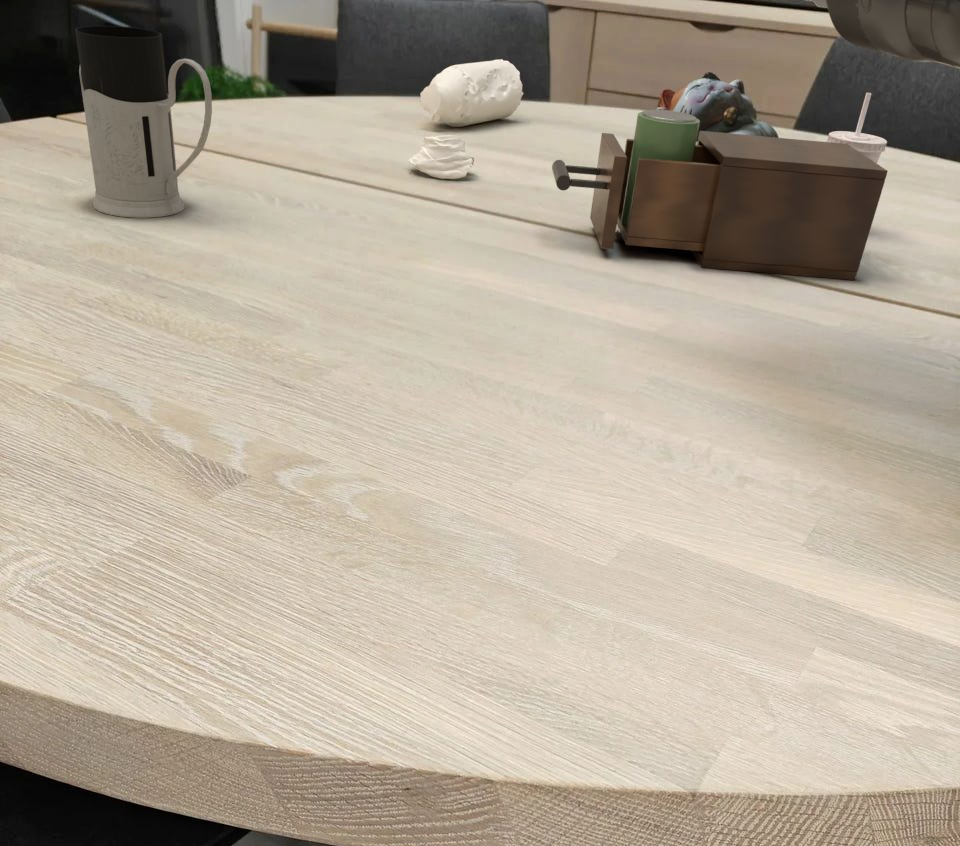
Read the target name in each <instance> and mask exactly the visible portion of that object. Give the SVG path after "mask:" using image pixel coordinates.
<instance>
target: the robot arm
mask: <svg viewBox="0 0 960 846" xmlns="http://www.w3.org/2000/svg"><path fill="white" fill-rule="evenodd" d="M804 1H805V2H811V3H814V5H815V6H816V7H818V8H822V9H827V11H828V14H829V18H830V21H831V24H832V25H833V27H834V28H835V30H836V32H837V33H838V34H839V35H840V36H841V38H842V39H844V40H845V41H846V42H848V43H850V44H852V45H854V46H856V47H860V48H863V49H867V50H870V51H874V52H878V53H881V54H885V55H889V56H892V57H896V58H899V59H902V60H907V61H911V62H916V63H935V64H936V63H937V64H940V65H943V66H946V67H951V68H954V69H958V70H960V0H804Z"/></svg>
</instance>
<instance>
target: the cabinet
mask: <svg viewBox="0 0 960 846" xmlns="http://www.w3.org/2000/svg"><path fill="white" fill-rule="evenodd" d="M697 145H704V146H705V147H706V148H707V149H708V150H709V151H710V152H711V153H712V154H713V156H714V157H715V158H716V159H717V160H718V161H719V162H720V163H721V165H720V170H719V174H718V179H717V184H716V189H715V194H714V199H713V203H712V208H711V213H710V218H709V223H708V227H707V232H706V237H705V242H704V247H703V251H693V250H690V251H691V253H692V255H693V256H694V258H695V260H696V262H697V263H698V264H699V267H700V268H703V269H713V270H725V271H727V270H728V271H740V272H751V273H763V274H774V275H775V274H776V275H777V274H778V275H786V276H787V275H788V276H801V277H813V278H824V279H825V278H826V279H836V280H837V279H838V280H848V281H855V280H856V279H857V276H858V272H859V268H860V265H861V261H862V258H863V256H864V252H865V250H866V249H865V248H866V245H867V241H868V238H869V235H870V232H871V229H872V225H873V222H874V219H875V215H876V213H877V209H878V205H879V202H880V199H881V195H882V192H883V188H884V186H885V182H886V179H887V175H888V173H889V171H888V169H885V167H882V166H881V164H878V162H877V163H875V162H874V161H872V160H871V159H869V158H868V157H866V156H865V155H863V154H862V153H860V152H859V151H857V150H856V149H854V148H853V147H851V146H850V145H848V144H843V143H831V142H826V141H819V140H810V139H809V140H808V139H807V140H806V139H797V138H786V137H779V138H776V137H764V136H753V135H742V134H731V133H720V132H708V131H700V132H699V136H698V142H697Z"/></svg>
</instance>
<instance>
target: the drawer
mask: <svg viewBox="0 0 960 846" xmlns="http://www.w3.org/2000/svg"><path fill="white" fill-rule="evenodd" d="M614 134H615V133H610V132H609V133H607V132H602V133H601V137H600V146H599V152H598V158H597V164H596V165H597V166H596V167H593V166H581V165H571V164H570V165H569V164H566V163H565V161H564V160H562V159H556V160H555V161H553V163H552V164H551V170H552V174H553V178H554V180H555V181H554V182H555V184H556V188H557V189H558V190H560V191H563V192H564V191H568V190H569V188H570V187H573V188H575V187H576V188H585V189H586V188H587V189H593V195H592V201H591V208H590V216H589V219H590V221H591V224H592V227H593V229H594V232H595V235H596V238H597V240H598V243H599V246H600V249H607V250H613V249H614V245H615V239H616V232H617V228H618V230H619V233H620V235H621V237H622V239H623V241H624V243H625V245H626V246H632V247H633V246H635V247H645V248H659V249H670V250H671V249H672V250H680V251H691V250H693V251H703V247H704V242H705V237H706V232H707V227H708V223H709V218H710V213H711V208H712V203H713V199H714V194H715V189H716V184H717V179H718V174H719V170H720V165H721V163H720V162H719V161H718V160H717V159H716V158H715V157H714V156H713V154H712V153H711V152H710V151H709V150H708V149H707V148H706V147H705V146H704V145H695V150H694V156H693V161H692V162H683V161H672V160H660V159H649V158H639V159H638V165H637V171H636V177H635V184H634V190H633V196H632V202H631V208H630V214H629V221H628V227H625V226H624V225H622V223H621V218H622V212H623V205H624V199H625V193H626V186H627V180H628V174H629V167H630V161H631V155H632V148H633V142H634V138H626V141H625V146H624V149H623V148H622V146H621V144H620V142H619V140H618V139H617V138H616V136H615V135H614ZM570 174H579V175H591V176H595V179H594V180H593V179H582V178H581V179H580V178H571V177H570Z"/></svg>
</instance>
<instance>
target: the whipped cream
mask: <svg viewBox="0 0 960 846" xmlns="http://www.w3.org/2000/svg"><path fill="white" fill-rule="evenodd" d="M422 141H423V145H421V148H420V149H419V151H418V153H415V154H414V155H412V157H410V158H408V160H407V162H408V163H409V164H410V165H411V166H412V167H413V168H414V169H416V170H417V171H419V172H421V173H424V174H427V175H428V176H430V177H433V178H437V179H442V180H445V179H449V180H457V179H461V178H464V177H467V174H468V172H469V171H470V168H472V166H474V162H475V158H474V156H473V155H472V154H470V153H468V152H466V151H467V150H466V142H465V140H464V139H463V138H462V137H461V136H459V135H436V136H429V135H428V136H426V137H423V139H422Z"/></svg>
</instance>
